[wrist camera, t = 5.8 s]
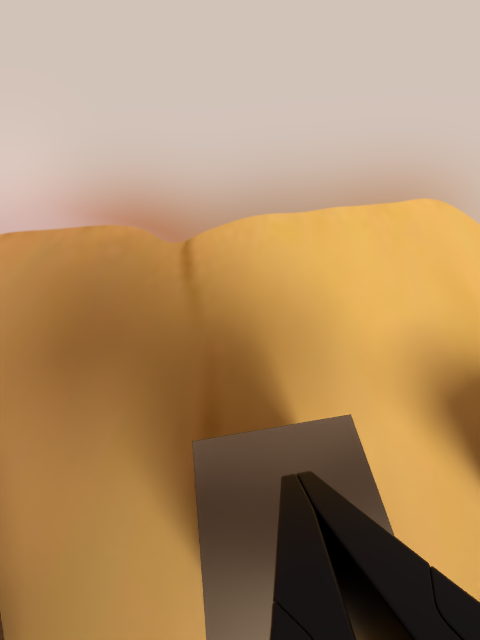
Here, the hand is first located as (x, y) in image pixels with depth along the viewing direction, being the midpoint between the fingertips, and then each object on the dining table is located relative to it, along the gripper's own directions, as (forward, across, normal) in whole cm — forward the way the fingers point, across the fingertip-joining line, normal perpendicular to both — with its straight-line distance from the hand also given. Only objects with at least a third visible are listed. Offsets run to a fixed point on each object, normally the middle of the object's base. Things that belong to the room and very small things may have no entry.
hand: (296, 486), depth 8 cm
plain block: (+6, 0, +8) cm, 10 cm away
